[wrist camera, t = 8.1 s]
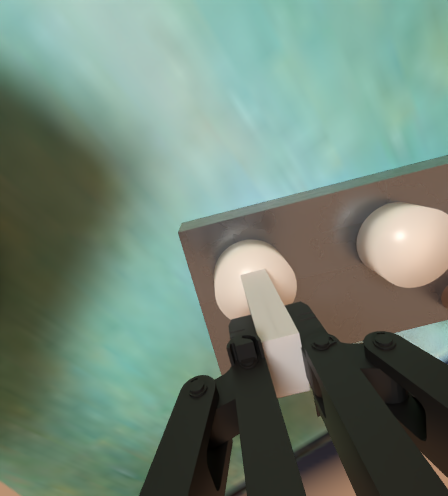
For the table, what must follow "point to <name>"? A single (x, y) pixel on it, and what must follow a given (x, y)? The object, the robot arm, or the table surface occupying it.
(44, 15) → the table surface
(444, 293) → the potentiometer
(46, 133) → the table surface
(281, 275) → the knob
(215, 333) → the plate
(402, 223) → the knob mid
